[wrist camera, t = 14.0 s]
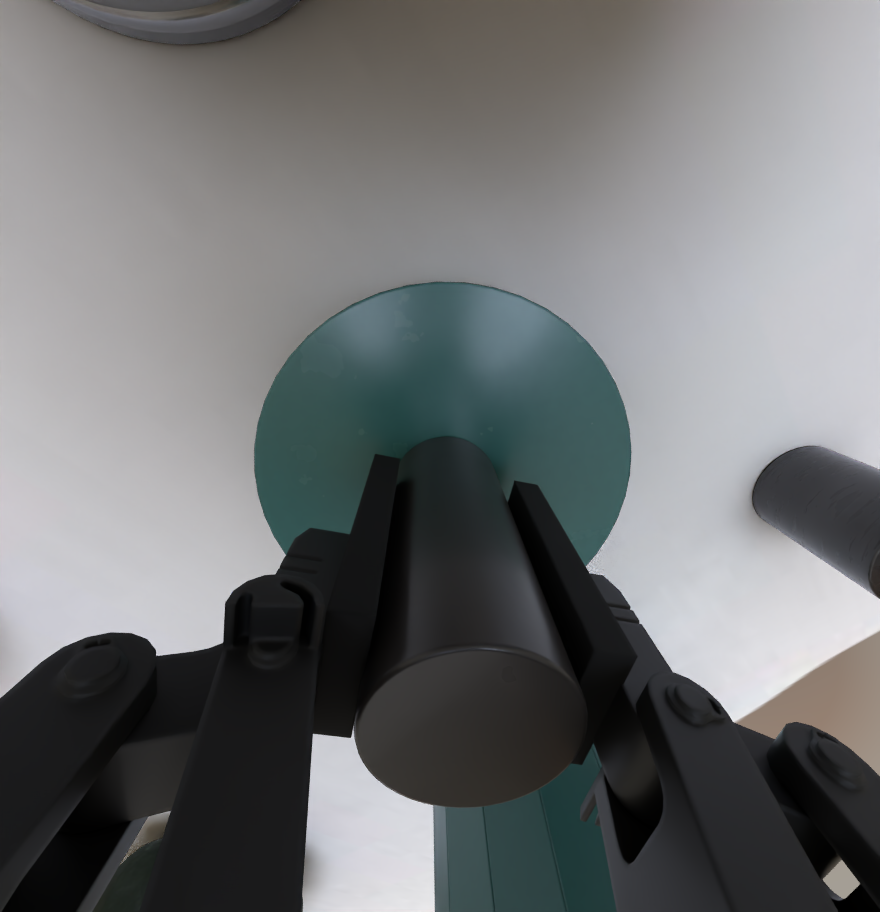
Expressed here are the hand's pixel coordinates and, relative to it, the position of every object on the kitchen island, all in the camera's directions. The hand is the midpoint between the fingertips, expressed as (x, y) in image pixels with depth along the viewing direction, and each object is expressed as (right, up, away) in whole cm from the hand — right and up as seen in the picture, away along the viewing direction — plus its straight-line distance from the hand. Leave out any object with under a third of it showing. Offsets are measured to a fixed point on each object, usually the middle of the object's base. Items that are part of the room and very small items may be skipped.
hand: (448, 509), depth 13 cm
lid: (0, +1, +2) cm, 2 cm away
